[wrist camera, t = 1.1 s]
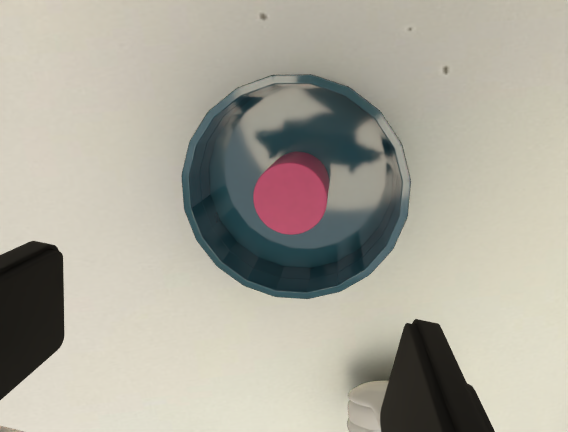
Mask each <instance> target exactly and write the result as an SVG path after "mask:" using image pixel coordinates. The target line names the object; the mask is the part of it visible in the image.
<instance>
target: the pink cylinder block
mask: <svg viewBox="0 0 568 432" xmlns="http://www.w3.org/2000/svg"><path fill="white" fill-rule="evenodd" d="M328 190H329V176H328V173H327V170H326V168H325V167H324V165H323V164H322V163H321V161H319V160H318V159H317V158H316V157H314V156H313V155H311V154H308V153H304V152H291V153H288V154H285V155H283V156H282V157H280V158H279V159H278V160H276V161H275V162H274V163H273V164H272V165H271V166H270V167H269V168H268V169H267V170H266V171H265V172H264V173H263V174H262V175H261V176H260V178H259V179H258V181H257V183H256V185H255V188H254V194H253V201H254V207H255V210H256V212H257V214H258V216H259V218H260V219H261V220H262V221H263V223H264V224H265V225H267V226H268V227H269V228H271V229H272V230H274V231H276V232H279V233H282V234H288V235H294V234H300V233H304V232H306V231H308V230H310V229H312V228H313V227H314V226H315V225H317V224H318V223H319V221H320V220H321V219H322V217H323V215H324V213H325V210H326V206H327V198H328Z"/></svg>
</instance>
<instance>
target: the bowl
mask: <svg viewBox="0 0 568 432" xmlns="http://www.w3.org/2000/svg"><path fill="white" fill-rule="evenodd" d="M291 152H304V153H308V154H311V155H313V156H314V157H316V158H317V159H318V160H319V161H321V163H322V164H323V165H324V167H325V168H326V170H327V173H328V176H329V190H328V198H327V206H326V210H325V213H324V215H323V217H322V219H321V220H320V221H319V223H318V224H317V225H315V226H314V227H313V228H312V229H310V230H308V231H306V232H304V233H300V234H294V235H288V234H282V233H279V232H276V231H274V230H272V229H271V228H269V227H268V226H267V225H265V224H264V223H263V221H262V220H261V219H260V218H259V216H258V214H257V212H256V210H255V207H254V201H253V194H254V188H255V185H256V183H257V181H258V179H259V178H260V176H261V175H262V174H263V173H264V172H265V171H266V170H267V169H268V168H269V167H270V166H271V165H272V164H273V163H274V162H275V161H276V160H278V159H279V158H280V157H282V156H283V155H285V154H288V153H291ZM410 180H411V179H410V175H409V171H408V167H407V163H406V159H405V155H404V151H403V146H402V144H401V142H400V140H399V139H398V137H397V136H396V134H395V133H394V131H393V130H392V128H391V126H390V125H389V123H388V122H387V120H386V119H385V117H384V116H383V114H382V113H381V112H380V110H378V109H377V108H376V107H374V106H373V105H372V104H371V103H369V102H368V101H367V100H365V99H364V98H363V97H361V96H360V95H359V94H358V93H356V92H355V91H354V90H352V89H351V88H349V87H348V86H345V85H342V84H339V83H336V82H333V81H330V80H327V79H324V78H321V77H318V76H315V75H311V74H310V75H271V76H268V77H266V78H263V79H260V80H257V81H255V82H252V83H249V84H246V85H244V86H241V87H238V88H236V89H235V90H234V91H232V92H231V93H230V94H229V95H228V96H226V97H225V98H224V99H223V100H221V101H220V102H219V103H218V104H217V105H215V106H214V107H213V108H212V109H210V110H209V112H208V113H207V114H206V116H205V117H204V119H203V121H202V122H201V124H200V125H199V127H198V129H197V130H196V132H195V133H194V135H193V137H192V138H191V140H190V142H189V146H188V150H187V154H186V158H185V163H184V167H183V171H182V188H183V201H184V210H185V213H186V215H187V218H188V220H189V223H190V225H191V228H192V230H193V233H194V235H195V238H196V240H197V242H198V243H199V244H200V245H201V247H202V248H203V249H204V250H205V252H206V253H207V254H208V256H209V257H210V258H211V259H212V261H213V262H214V263H215V264H216V266H217V267H219V268H220V269H221V270H223V271H224V272H225V273H227V274H228V275H230V276H231V277H232V278H234V279H235V280H237V281H238V282H239V283H241V284H242V285H244V286H246V287H249V288H252V289H254V290H257V291H260V292H263V293H266V294H268V295H271V296H274V297H285V298H300V299H310V298H314V297H319V296H323V295H328V294H332V293H337V292H340V291H342V290H344V289H346V288H348V287H349V286H351V285H353V284H355V283H356V282H358V281H360V280H362V279H363V278H365V277H367V276H369V274H371V273H372V272H373V271H374V270H375V269H376V267H377V266H378V265H379V264H380V263H381V262H382V261H383V260H384V259H385V258H386V257H387V255H388V254H389V253H390V252H391V251H392V250H393V248H394V246H395V244H396V242H397V240H398V237H399V235H400V233H401V231H402V228H403V226H404V224H405V222H406V219H407V216H408V207H409V196H410V185H411V181H410Z"/></svg>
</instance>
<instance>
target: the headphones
mask: <svg viewBox="0 0 568 432" xmlns="http://www.w3.org/2000/svg"><path fill="white" fill-rule="evenodd" d="M388 382H389V380H386V381H372V382H367V383H363V384H361V385H359V386H357V387H355V388H353V389H352V390H351V391H350V392H349V393H348V398H349V399H350V400H349V402H348V417H349V418H348V421H347V426H348V430H349V432H381V426H380V412H381V407H382V403H383V400H384V396H385V393H386V389H387V385H388Z"/></svg>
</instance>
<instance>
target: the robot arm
mask: <svg viewBox="0 0 568 432" xmlns="http://www.w3.org/2000/svg"><path fill="white" fill-rule="evenodd" d="M63 340H64V287H63V255H62V253H61V252H59V250H58V248H57V247H56V246H55V245H51V244H46V243H41V242H36V241H31V242H28V243H26V244H24V245H22V246H20V247H17V248H15V249H13V250H11V251H8V252H6V253H4V254H2V255H0V400H1V399H2V398H3V397H5V396H6V395H7V394H8V393H9V392H10V391H11V390H12V389H14V388H15V387H16V386H17V385H18V384H19V383H20V382H22V381H23V380H24V379H25V378H26V377H27V376H28V375H30V374H31V373H32V372H33V371H34V370H35V369H36V368H38V367H39V366H40V365H41V364H42V363H43V362H44V361H45V360H47V359H48V358H49V357H50V356H51V355H52V354H53V353H55V352H56V351H57V350H58V349H59V348H60V346H61V345H62V342H63ZM380 426H381V432H495V431H494V429H493V427H492V425H491V423H490V421H489V419H488V416H487V414H486V412H485V410H484V408H483V406H482V404H481V402H480V400H479V398H478V396H477V394H476V391H475V390H474V388H473V387H472V386H471V385H469V384H467V383H466V381H465V379H464V376H463V374H462V372H461V370H460V368H459V366H458V363H457V361H456V359H455V357H454V355H453V353H452V350H451V348H450V346H449V344H448V342H447V340H446V337H445V335H444V333H443V331H442V329H441V327H440V325H439V324H437V323H432V322H427V321H423V320H418V319H415V320H414V321H413V323H412V324H409V323H406V324H405V326H404V329H403V333H402V336H401V340H400V343H399V347H398V350H397V354H396V357H395V361H394V364H393V368H392V371H391V375H390V378H389V382H388V385H387V389H386V393H385V396H384V400H383V403H382V407H381V412H380ZM0 432H24V431H20V430H16V429H11V428H7V427H3V426H0Z"/></svg>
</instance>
